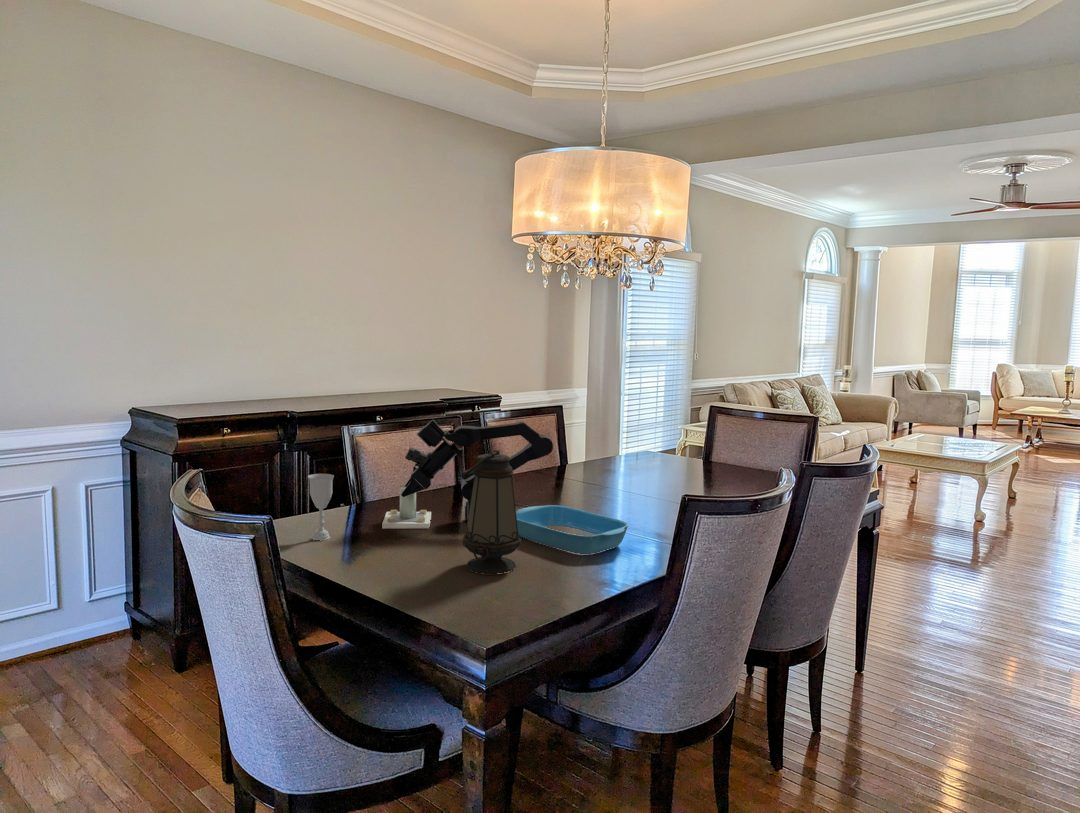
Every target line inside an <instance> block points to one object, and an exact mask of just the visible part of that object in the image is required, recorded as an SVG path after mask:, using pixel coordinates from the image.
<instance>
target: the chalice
mask: <svg viewBox="0 0 1080 813" xmlns="http://www.w3.org/2000/svg"><path fill="white" fill-rule="evenodd" d="M334 477H335V475H334V474H332V473H331V474H330V473H314V474H309V475H307V478H308V480H309V496H310V497H311V500H312V502H313V504H314V506H315V508H316V509H318V510H319V513H318V515H317V516H318V518H319V520H318V521H317V523H318V524H319V526H318V529H317V530H316V531H315V532H314V534H313V537H312V538H311V540H312V539H314V540H320V541H319V542H323V541H322V540H327V539H329V538H331V536H330V533H329V532H328V530H327V529H325V528H324V524H325V520H324V517H325V514H324V509H326V508H327V507H328V504H329V503H330V501H331V499H332V496H333V481H334ZM314 540H313V541H314ZM329 540H330V539H329ZM327 541H328V540H327Z"/></svg>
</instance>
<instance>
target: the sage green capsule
mask: <svg viewBox="0 0 1080 813" xmlns="http://www.w3.org/2000/svg"><path fill="white" fill-rule="evenodd" d="M405 488H406V487H404V486H401V487H400V488H399V512H400V518H402V519H412V518H415V517H416V512H417V492H416V493H413V494H410V495H408V496H405V497H403V496H402V495H401V494H402V492H403V491H404V490H405Z"/></svg>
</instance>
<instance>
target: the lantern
mask: <svg viewBox="0 0 1080 813" xmlns="http://www.w3.org/2000/svg"><path fill="white" fill-rule="evenodd" d="M500 452H501V450H500V449H496V450H493V451H492V452H489V453H485V454H480V455H478V456H477V457H476V460H477V463H475V464H474V465H472V466H471V467H470V468H469V469H466V470H464V471H462V472H461V473H460V477H461V479H463V480H465V479H467V478H469V477H471V476H473V475H474V474H475V476H474V483H473V489H472V495H471V502H470V508H469V515H468V521H467V523H466V529H465V534H464V536H463V537H462V545H463V547H465V549H467V551H469V552H470V553H472V554H473V556H474V558H472V559H470V560H468V562H467V563H466V566H467V568H468V569H469V570H471V571H473V572H477V573H484V574H497V573H504V572H508V571H511V570H513V569H514V568H515V567H516V568H517V565H516V562H515V561H513V560H512V559H510V558H507V557H503V556H507V555H510V554H513V553H514V552H515V551H516V550H517V549H519V548H520V546H521V544H522V539H521V536H519V534H518V527H517V518H516V512H517V510H516V509H517V508H516V500H515V493H514V483H513V482H514V481H513V474H514V471H512V470H513V469H512V467H511V466H510V465H509V461H510V460H511V459H510V457H511V456H508V455H506V454H502V453H500ZM478 556H480V557H478ZM466 566H465V567H466ZM467 568H466V569H467ZM468 569H467V570H468ZM469 570H468V571H469ZM471 571H470V572H471ZM473 572H472V573H473ZM477 573H476V574H477Z"/></svg>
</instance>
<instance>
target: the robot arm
mask: <svg viewBox="0 0 1080 813" xmlns="http://www.w3.org/2000/svg"><path fill="white" fill-rule="evenodd" d="M416 436H417V437H418V438H420V440H422V442H423V443H425V445H426V446H428V448H431V447H432V448H435V447H436V448H435V449H434V450H433V451H430V452H428V453H427V454H426V453H424V452H422V451H421V450H418V449H416V448H414V447H411V446H410V447H409V449H408V451H407V453H406V455H405V457H404V459H406V460H407V461H411V462H413V463H414V465H413V469H412V471H413V472H411V474H410V478H408V480H407V482H406V484H405V485H404V486H403V487H406V488H405V490H404V491H403V492H402V494H401V495H402V496H403V497H405V496H408V495H410V494H413V493H416V494H417V493H418V492H421V491H424V490H425V491H426V490H428V489H429V487H430V486H431V485H432V480H433V479H434V478H435V476H436V475H437V474H438V473H439V472H440V471H442V470H443V469H444V468H445V466H446V465H447V464H448V463H449V462H450V461H451V460H453V459H454V458H455V456H457V457H458V458H459V459H463V454H464V453H463V452H464V448H463V447H467V446H470V445H474V444H476V443H479V442H482V441H484V440H492V439H493V440H495V439H501V438H508V437H509V438H510V437H517V436H521V437H522V438H523V439H524V440H525V441H527V442H528V443H527V444H526V445H525V446H524V447H523V448H522V449H521V450H520V451H518V452H516V453H514V454H513V455H512V456H509V457H510V459H511V460H510V461H509V465H510V466H511V467H512V469H513V470H512V471H513V472H514V471H515V470H517V469H519V468H520V467H521V466H524V465H526V463H528V462H531V461H534V460H538V459H541V458H543V457H544V458H545V457H546V456H549V455H550V454H551V453H552V452H553V449H554V444H553V441H552V440H551V439H550V437H549V436H548V435H546V434H540V433H538V432H537V431H535V430H534V429H533V428H531V427H530V426H529V425H528V424H527V423H526V422H525V421H522V420H521V421H518V422H512V423H511V422H510V423H505V424H496V425H495V424H494V425H488V426H476V425H475V426H474V425H459V426H457V427H456V428H454V429H448V430H444V429H442V427H440V426H439V424H438V423H437V422H436V420H435V419H432V420H430V421H429V422H428V423H426V425H424V426H423V427H421V428H420V429H419V431H418V432H417V433H416ZM459 447H461V448H459ZM474 476H475V474H474V475H473V476H471V477H469V478H467V479H463V481H462V483H461V486H460V489H461V495H462V497H463V498H464V499H465V500H467V501H465V506H464V519H462V523H465V522H466V523H465V524H467V521H468V515H469V508H470V502H471V495H472V489H473V483H474Z"/></svg>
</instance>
